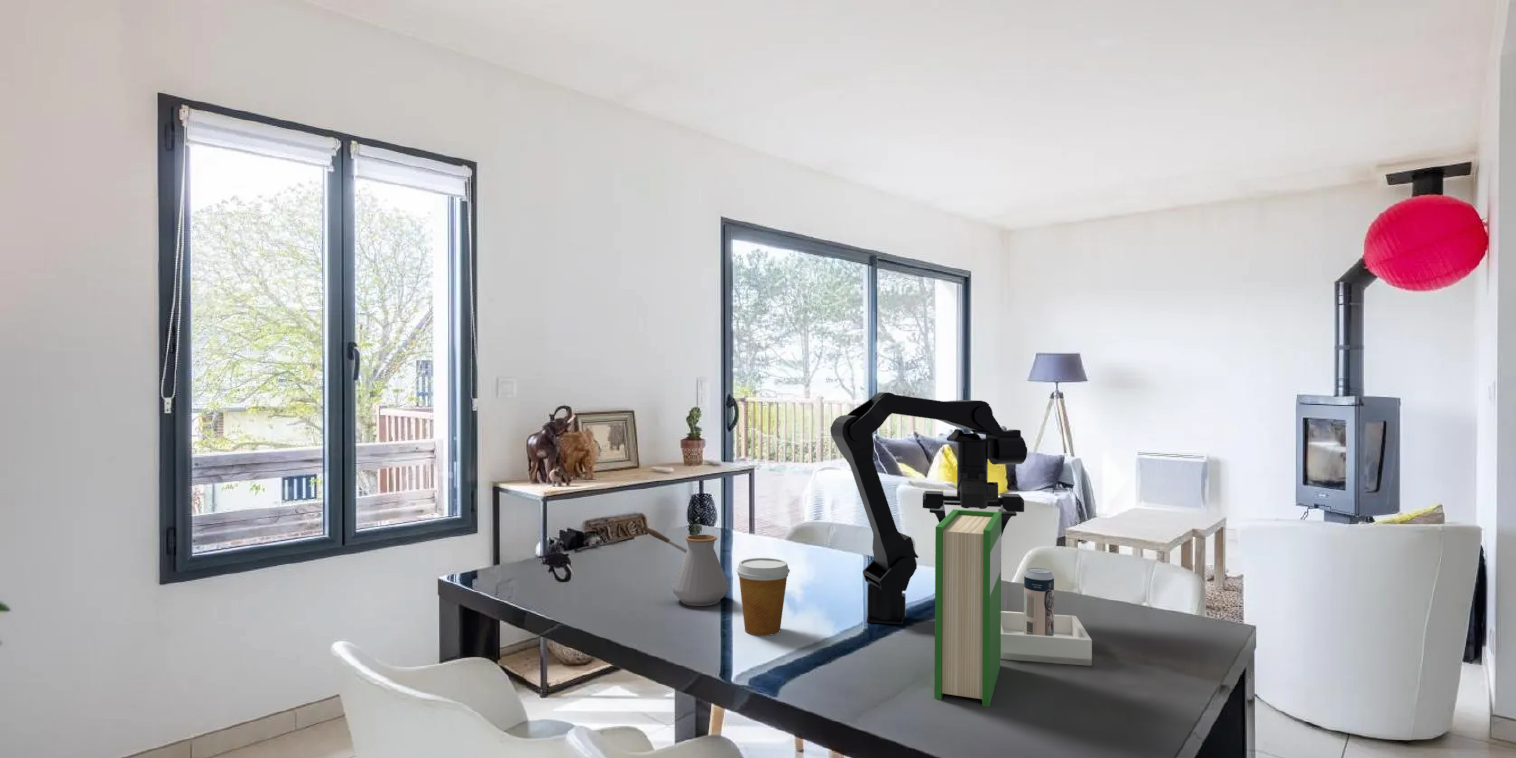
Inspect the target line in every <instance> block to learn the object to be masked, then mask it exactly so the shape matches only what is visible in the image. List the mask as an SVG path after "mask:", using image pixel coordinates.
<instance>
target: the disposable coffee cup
mask: <svg viewBox="0 0 1516 758" xmlns="http://www.w3.org/2000/svg"><path fill="white" fill-rule="evenodd" d="M737 566H738V567H736V573H737V576H738V578H739V579H738V580H739V589H740V597H741V598H740V599H741V607H742V617H743V624H744V631H745V633H747V632H748V633H747V634H749V635H753V634H755V636H762V635H764V636H772V634H773V635H775V634H778V633H780V632H781V625H782V617H783V609H784V603H785V595H786V587H787V580H788V579H787V578H788V577H789V573H790V571H791V569H790V568H789V565H788V562H787V561H785V560H783V559H779V558H773V557H772V558H771V557H752V558H751V557H750V558H745V559H742V560H739V562H738V565H737ZM779 631H780V632H779Z"/></svg>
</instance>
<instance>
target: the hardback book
mask: <svg viewBox="0 0 1516 758" xmlns="http://www.w3.org/2000/svg"><path fill="white" fill-rule="evenodd" d="M1001 514H1002V512H998V511H986V510H985V511H984V510H971V509H970V510H968V509H967V510H966V509H954V508H953V509H952V510H951V511H950V512H949V513H948V514H946V517H945V518H944V519H943V520H942V521H941V522H940V523H939V522H938V524H936V526H935V544H934V545H935V547H934V548H935V549H934V550H935V551H934V552H935V554H934V555H935V556H934V557H935V562H934V564H935V565H934V568H935V569H934V571H935V572H934V574H935V576H934V579H935V582H934V683H933V684H934V687H933V689H934V691H933V692H934V696H933V697H934V698H933V699H934V700H935V699H936V700H939V701H940V700H942V699H943V696H944V694H945V695H952V696H958V697H965V698H972V699H978V700H981V706H982V707H987V708H989V707H990V706H991V701H992V697H993V694H994V690H995V687H996V684H997V680H998V676H999V673H1000V670H1001V666H1002V665H1001V662H1002V661H1001V660H1002V659H1001V611H1002V537H1001Z"/></svg>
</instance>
